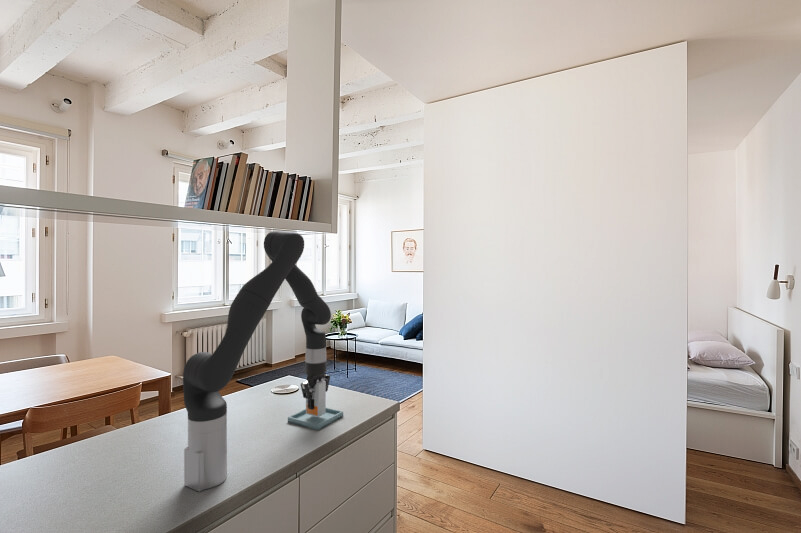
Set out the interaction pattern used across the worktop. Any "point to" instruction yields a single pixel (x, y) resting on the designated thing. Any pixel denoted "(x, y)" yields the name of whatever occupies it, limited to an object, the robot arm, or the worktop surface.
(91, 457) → the worktop surface
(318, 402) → the skincare box
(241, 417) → the worktop surface
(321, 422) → the tray
